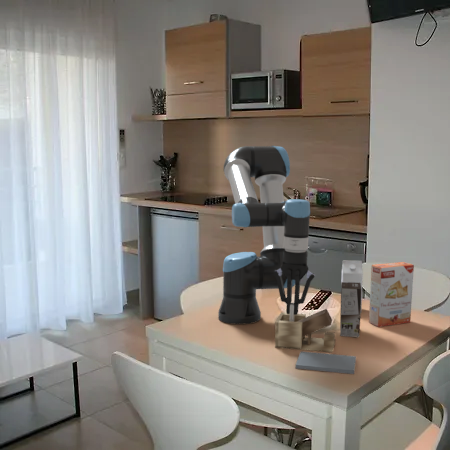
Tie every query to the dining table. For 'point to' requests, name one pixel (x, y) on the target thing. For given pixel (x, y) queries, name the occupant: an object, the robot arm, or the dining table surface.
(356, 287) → the coffee box
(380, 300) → the cracker box
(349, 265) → the milk carton
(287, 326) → the holder
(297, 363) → the mat
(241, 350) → the dining table surface
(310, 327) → the bar
